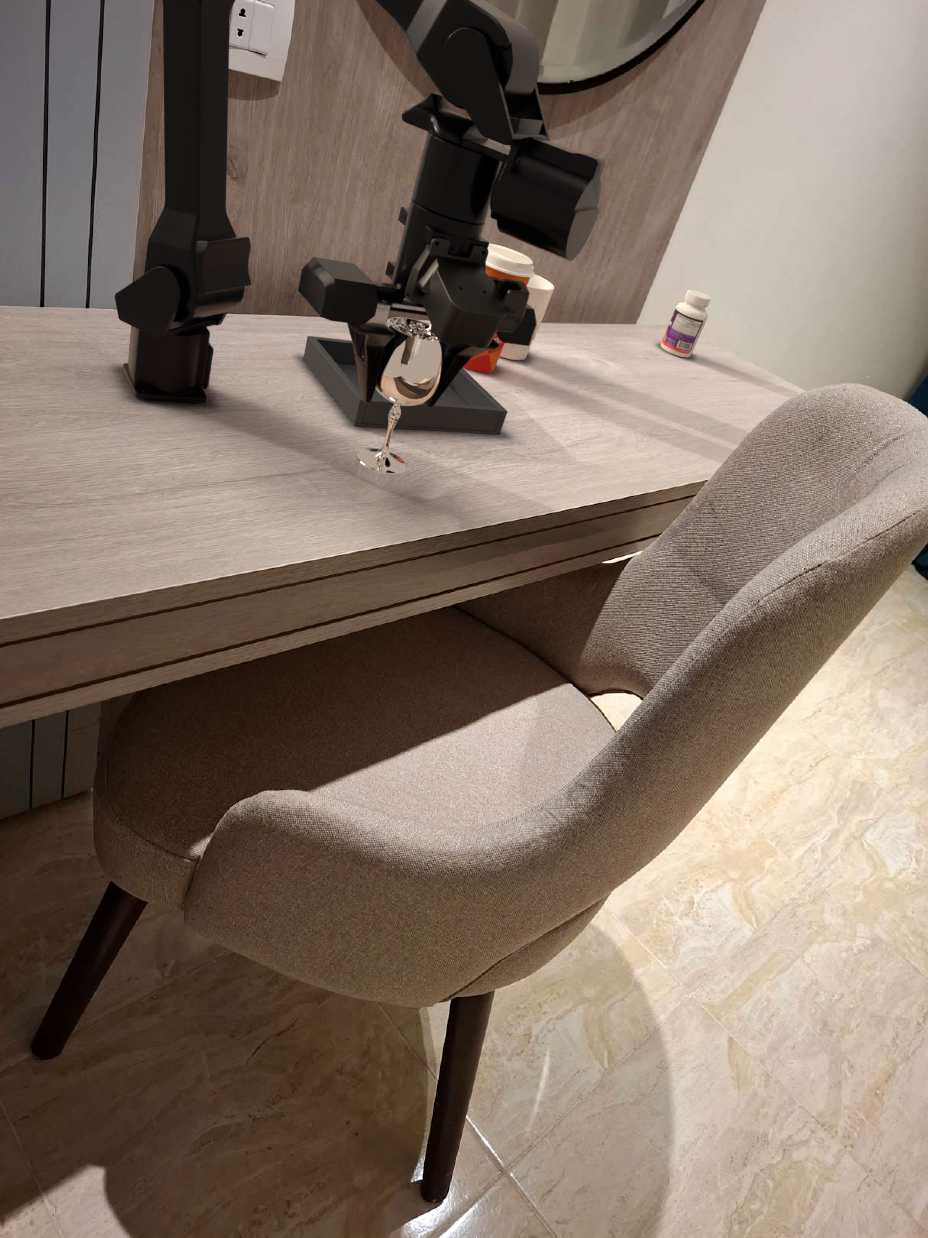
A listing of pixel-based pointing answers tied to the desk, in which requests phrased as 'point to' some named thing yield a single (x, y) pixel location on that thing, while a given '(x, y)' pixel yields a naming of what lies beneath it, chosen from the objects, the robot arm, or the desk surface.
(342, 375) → the tray
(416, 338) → the wineglass
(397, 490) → the desk surface
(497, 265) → the paper cup
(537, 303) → the white cup
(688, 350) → the pill bottle
